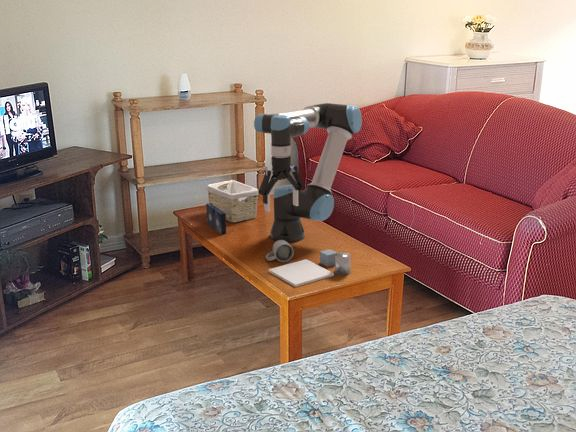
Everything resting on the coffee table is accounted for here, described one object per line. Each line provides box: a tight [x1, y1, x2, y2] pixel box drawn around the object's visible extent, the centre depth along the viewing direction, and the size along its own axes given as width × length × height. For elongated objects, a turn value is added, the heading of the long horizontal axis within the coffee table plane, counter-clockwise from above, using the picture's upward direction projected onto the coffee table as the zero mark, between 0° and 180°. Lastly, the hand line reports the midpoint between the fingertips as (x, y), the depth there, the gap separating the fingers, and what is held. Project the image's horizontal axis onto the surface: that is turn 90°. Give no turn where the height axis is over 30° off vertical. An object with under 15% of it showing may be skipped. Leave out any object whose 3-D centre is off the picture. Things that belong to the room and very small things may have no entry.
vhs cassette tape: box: [205, 202, 227, 235], centre depth 309 cm, size 18×3×10 cm, turn 26°
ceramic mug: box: [265, 240, 294, 263], centre depth 273 cm, size 11×8×8 cm
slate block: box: [319, 248, 338, 268], centre depth 268 cm, size 5×5×5 cm
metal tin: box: [334, 252, 352, 276], centre depth 259 cm, size 6×6×7 cm
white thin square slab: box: [268, 259, 335, 288], centre depth 259 cm, size 18×18×1 cm
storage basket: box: [206, 179, 260, 223], centre depth 327 cm, size 24×16×15 cm
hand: (281, 208), depth 267 cm, fingers open, 13 cm apart
